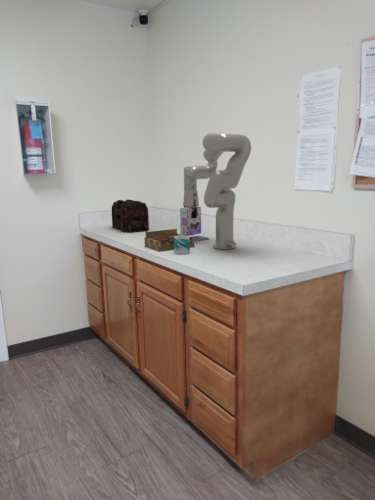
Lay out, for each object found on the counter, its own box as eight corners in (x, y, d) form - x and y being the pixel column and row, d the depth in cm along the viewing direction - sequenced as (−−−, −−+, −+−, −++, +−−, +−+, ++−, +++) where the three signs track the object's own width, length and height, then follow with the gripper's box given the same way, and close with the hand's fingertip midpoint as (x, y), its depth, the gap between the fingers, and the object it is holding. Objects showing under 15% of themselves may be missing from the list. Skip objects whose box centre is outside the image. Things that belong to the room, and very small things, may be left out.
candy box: (188, 236, 234) (187, 208, 231) (180, 235, 238) (179, 207, 235) (201, 233, 245) (201, 206, 242) (194, 232, 249) (193, 206, 245)
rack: (194, 246, 221) (194, 232, 219) (159, 251, 210) (159, 236, 208) (177, 242, 236) (177, 228, 234) (144, 246, 225) (144, 232, 223)
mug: (177, 254, 201) (177, 238, 199) (169, 250, 212) (168, 235, 210) (192, 253, 204) (192, 237, 202) (183, 249, 215) (182, 233, 213)
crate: (110, 227, 302) (109, 199, 298) (134, 225, 310) (133, 198, 306) (125, 233, 271) (124, 203, 267) (151, 231, 280) (150, 201, 276)
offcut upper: (182, 241, 218) (182, 235, 217) (170, 243, 213) (170, 237, 213) (179, 241, 220) (179, 234, 220) (167, 243, 216) (167, 236, 215)
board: (209, 239, 242) (209, 237, 242) (182, 242, 233) (182, 241, 232) (199, 237, 252) (199, 235, 251) (173, 240, 242) (173, 238, 242)
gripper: (203, 187, 230) (204, 218, 234) (188, 187, 245) (188, 215, 249) (192, 188, 227) (193, 219, 230) (177, 187, 241) (178, 216, 245)
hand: (190, 217), depth 239 cm, fingers closed on candy box, 7 cm apart
